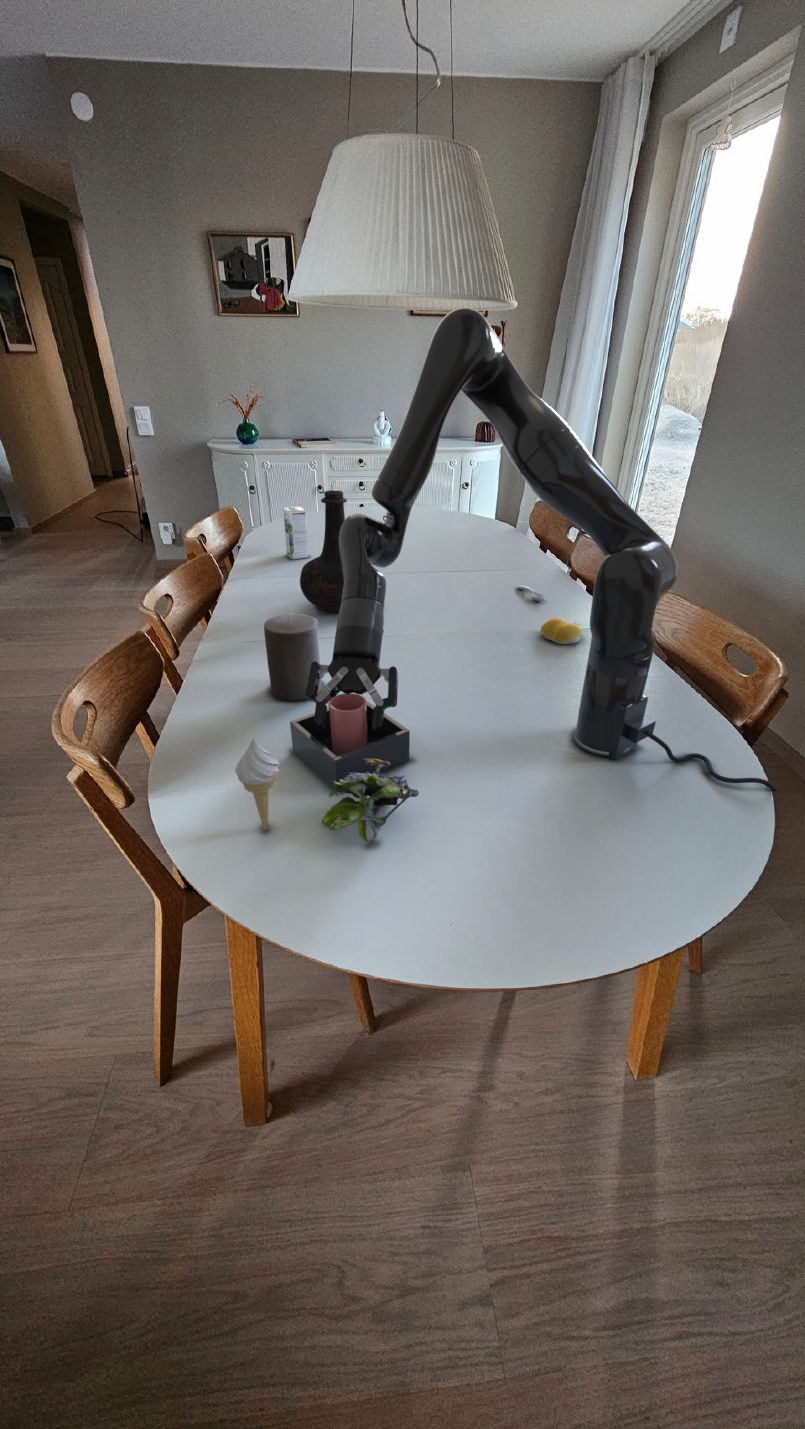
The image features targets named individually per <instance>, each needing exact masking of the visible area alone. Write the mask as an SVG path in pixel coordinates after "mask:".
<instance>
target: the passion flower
mask: <svg viewBox="0 0 805 1429" xmlns="http://www.w3.org/2000/svg"><path fill="white" fill-rule="evenodd" d="M363 762H365V763H367V764H368V765H375V767H376V772H375V773H374V772H373V774H369V773H368V772H366V773H367V774H365V773H362V774H361V773H357V772H356V773H355V772H353V773H350V772H349V774H350V775H347V777H346V778H344V779H345V780H346V781H344V780H342V779H340V784H339V783H337V782H334V785H335V786H336V788H335V789H334V788H333V789H332V790H331V791H330V792H329V794H328V798H329V799H330V798H332V797H334V796H339V795H344V794H348V795H352V796H353V798H352V797H350V796H348V795H347V796H344V797H342V798H341V799H340V800H339V801H338V802H336V803H335V804H333V805H332V806H331V807H330V808H329V810H327V811H326V813H325V814H324V816H323V818H322V819H321V824H322V825H324V826H325V827H328V828H329V829H330V830H332V831H338V830H342V829H343V828H346V827H349V826H350V825H352V824H355V823H357V825H356V828H357V831H358V834H359V836H360V838H361V839H362V840H363V841H364V842H365V843H368V841H369V838H368V833H367V826H368V823H370V829H371V830H372V832H373V835H372V839H371V841H370V843H369V845H373V844H374V842H375V840H376V838H377V835H378V833H379V831H380V830H381V828H382V827H383V826H384V825H385V824H386V823H387V819H388V818H389V817H390V816H391V815H392V814H393V813H394V812H395V811H396V810H397V809H398V808H399V807H400V806H401V805H402V804H404V803H405V802H406V801H407V800H408V798H411V797H412V798H416V797H418V796H419V795H420V793H419V790H418V789H414V788H410V787H409V785H408V780H407V779H403V778H405V775H398V776H397V775H390V776H388V775H385V774H383V773H379V769H380V768H382V767H388V766H390V763H389V762H388V761H385V760H379V759H372V758H364V759H363ZM354 798H356V799H359V800H355V799H354ZM399 799H401V801H400V802H399V803H398V800H399ZM372 804H373V812H374V813H373V812H371V810H370V806H371V805H372ZM384 806H393V808H392V809H391V810H390V811H389V812H388V813H386V815H384V816H378V814H377V809H376V807H378V808H382V807H384ZM367 816H370V817H372V819H369V818H368V817H367Z"/></svg>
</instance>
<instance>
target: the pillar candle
mask: <svg viewBox="0 0 805 1429" xmlns="http://www.w3.org/2000/svg"><path fill="white" fill-rule="evenodd" d="M263 632H264V641H265V642H264V643H265V648H266V649H265V650H266V651H265V652H266V660H267V661H266V662H267V669H268V675H269V682H270V689H271V690H270V693H271V695H272V696H273V697H274V698H277V699H278V700H281V701H283V702H300V701H304V700H305V701H306V700H309V699H308V697H307V696H306V694H305V693H306V688H307V683H308V678H309V673H310V668H311V664H312V662H314V661H316V662H318V663H319V664H321V660H320V648H319V647H320V646H319V634H318V620H317V619H315V617H312V616H311V615H306V614H302V613H294V612H293V613H292V612H291V613H284V614H278V615H275V616H272V617H269V618H267V619H266V620H265V621H264V623H263ZM321 691H322V678H320V683H319V688H318V693H317V694H319V693H320V692H321Z"/></svg>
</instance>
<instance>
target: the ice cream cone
mask: <svg viewBox="0 0 805 1429" xmlns="http://www.w3.org/2000/svg"><path fill="white" fill-rule="evenodd" d="M278 765H280V762H279V761H278V759H277V758H271V753H270V752H268V750H267V749H265V748H263V747H262V745H261V744H259V742H258V741H257V740H256V739H255V738H254V737H252V739H251V741H250V743H249V746H248V747H247V749H246V750H245V752H244V754H243V755H242V756H241V758H240V759H239V761H238V762H237V764H236V766H235V768H234V772H235V774H236V776H237V779H238V781H239V782H240V783H241V784H242V785H243V788H244V789H245V791H246V792H249V793H251V794H253V798H254V801H255V806H256V809H257V812H258V816H259V818H260V822H261V827H262V829H263V830H265V831H266V830H268V829H269V803H270V802H269V799H270V798H269V791H270V790H272V789H273V788H274V787H275V785H276V778H277V777H278V776H279V771H280V769H279V767H278Z"/></svg>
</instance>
